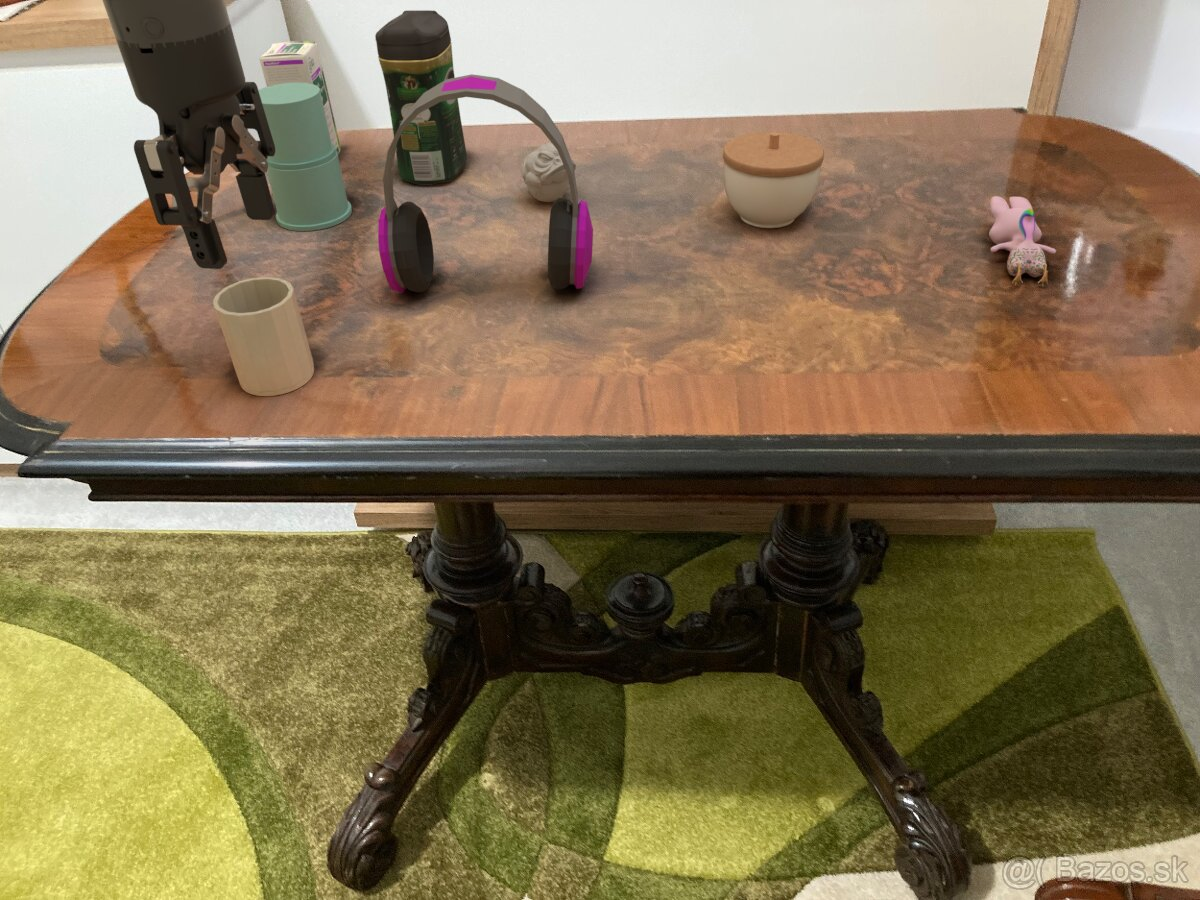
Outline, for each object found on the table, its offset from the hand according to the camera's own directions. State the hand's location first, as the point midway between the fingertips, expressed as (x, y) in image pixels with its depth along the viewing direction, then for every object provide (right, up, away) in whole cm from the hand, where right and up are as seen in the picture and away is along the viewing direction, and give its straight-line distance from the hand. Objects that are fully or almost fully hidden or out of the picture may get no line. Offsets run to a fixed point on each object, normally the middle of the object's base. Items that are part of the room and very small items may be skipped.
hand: (238, 241), depth 73 cm
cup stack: (-5, +11, +34) cm, 36 cm away
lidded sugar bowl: (+48, +9, +30) cm, 57 cm away
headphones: (+18, 0, +20) cm, 27 cm away
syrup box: (-8, +21, +47) cm, 52 cm away
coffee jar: (+8, +18, +44) cm, 48 cm away
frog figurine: (+23, +13, +36) cm, 44 cm away
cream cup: (0, -10, +8) cm, 13 cm away
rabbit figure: (+71, +4, +22) cm, 75 cm away
